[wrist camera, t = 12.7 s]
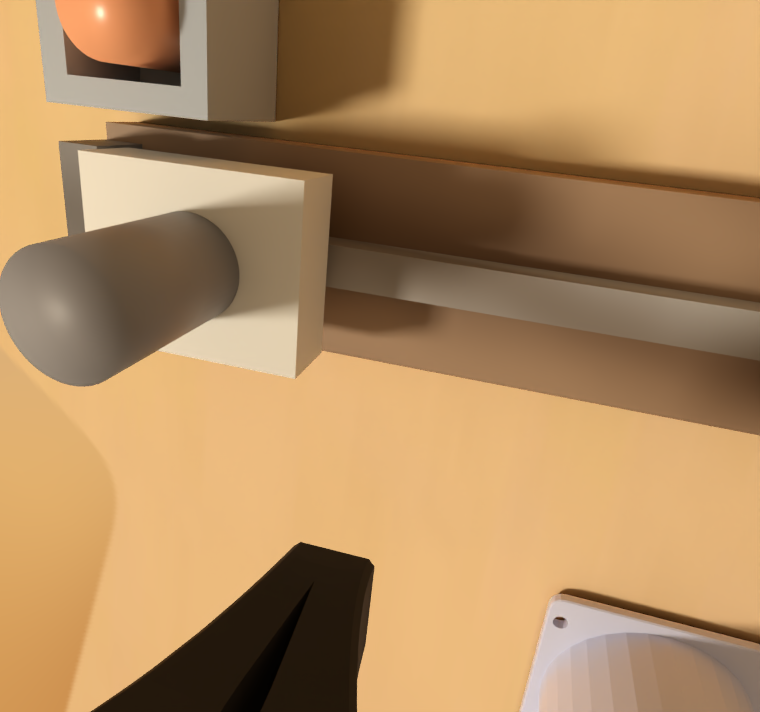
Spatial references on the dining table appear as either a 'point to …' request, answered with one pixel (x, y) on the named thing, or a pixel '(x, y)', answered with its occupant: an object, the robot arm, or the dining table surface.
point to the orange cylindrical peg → (125, 31)
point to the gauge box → (197, 61)
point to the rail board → (520, 273)
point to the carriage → (176, 268)
